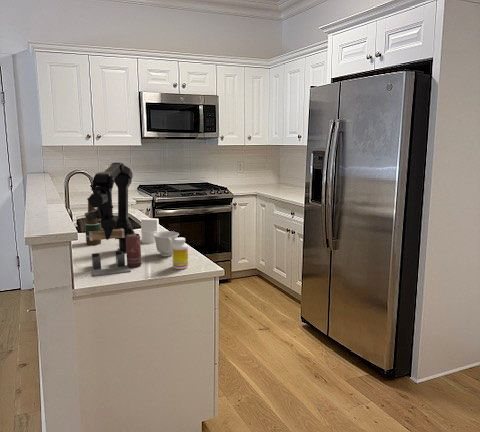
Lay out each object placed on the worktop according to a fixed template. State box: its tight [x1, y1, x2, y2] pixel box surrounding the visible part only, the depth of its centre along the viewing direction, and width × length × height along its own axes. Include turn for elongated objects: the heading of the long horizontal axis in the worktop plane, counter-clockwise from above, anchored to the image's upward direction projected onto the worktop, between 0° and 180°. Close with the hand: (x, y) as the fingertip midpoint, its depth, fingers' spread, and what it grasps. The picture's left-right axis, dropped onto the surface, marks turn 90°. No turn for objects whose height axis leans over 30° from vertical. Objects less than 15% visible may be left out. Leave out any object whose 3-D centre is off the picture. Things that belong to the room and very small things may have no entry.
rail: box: [89, 228, 125, 241], centre depth 191 cm, size 3×14×3 cm, turn 113°
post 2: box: [115, 250, 126, 267], centre depth 195 cm, size 6×3×6 cm, turn 23°
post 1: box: [91, 252, 102, 270], centre depth 191 cm, size 6×3×6 cm, turn 23°
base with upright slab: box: [140, 217, 160, 245], centre depth 233 cm, size 9×9×12 cm
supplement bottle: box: [171, 236, 189, 270], centre depth 192 cm, size 7×7×13 cm
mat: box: [91, 265, 131, 278], centre depth 186 cm, size 6×15×1 cm, turn 113°
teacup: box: [153, 230, 180, 257], centre depth 209 cm, size 12×15×10 cm
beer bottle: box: [84, 197, 102, 246], centre depth 226 cm, size 8×8×24 cm
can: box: [125, 232, 142, 269], centre depth 193 cm, size 6×6×14 cm
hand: (107, 238), depth 191 cm, fingers closed on rail, 3 cm apart
